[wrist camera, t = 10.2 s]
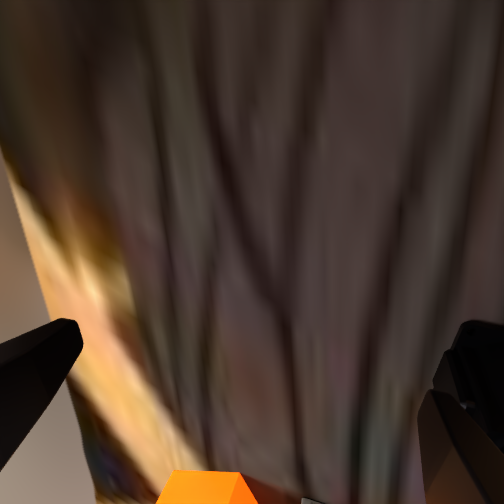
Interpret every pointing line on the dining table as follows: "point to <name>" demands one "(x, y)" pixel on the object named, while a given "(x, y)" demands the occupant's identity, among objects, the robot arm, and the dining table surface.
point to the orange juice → (206, 488)
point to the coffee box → (309, 501)
